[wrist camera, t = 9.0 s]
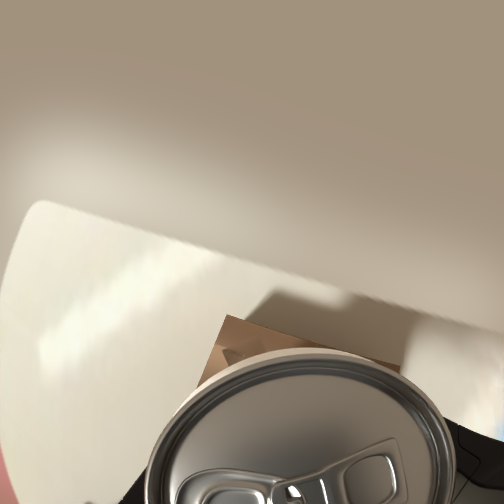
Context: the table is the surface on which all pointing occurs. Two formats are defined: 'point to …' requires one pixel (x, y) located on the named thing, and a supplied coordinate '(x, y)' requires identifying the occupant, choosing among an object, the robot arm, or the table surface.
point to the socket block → (254, 345)
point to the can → (304, 436)
